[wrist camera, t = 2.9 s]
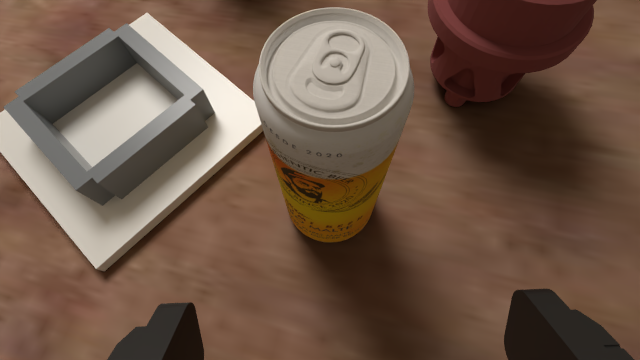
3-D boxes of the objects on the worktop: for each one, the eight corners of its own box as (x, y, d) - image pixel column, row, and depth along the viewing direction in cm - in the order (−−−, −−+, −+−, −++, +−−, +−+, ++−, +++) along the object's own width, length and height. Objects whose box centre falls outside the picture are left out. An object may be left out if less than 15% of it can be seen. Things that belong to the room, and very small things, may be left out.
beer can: (275, 228, 26) (217, 106, 12) (306, 155, 28) (286, -17, 14) (356, 257, 25) (394, 163, 11) (382, 180, 27) (439, 22, 13)
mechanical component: (546, 64, 31) (499, 152, 28) (439, 17, 34) (385, 93, 30) (672, -91, 20) (617, 28, 17) (498, -146, 22) (420, -52, 19)
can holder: (151, 21, 34) (130, -17, 30) (272, 122, 29) (265, 91, 26) (-10, 133, 29) (-58, 104, 26) (104, 271, 25) (66, 260, 21)
